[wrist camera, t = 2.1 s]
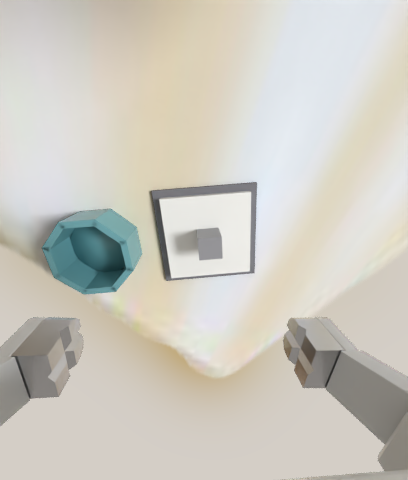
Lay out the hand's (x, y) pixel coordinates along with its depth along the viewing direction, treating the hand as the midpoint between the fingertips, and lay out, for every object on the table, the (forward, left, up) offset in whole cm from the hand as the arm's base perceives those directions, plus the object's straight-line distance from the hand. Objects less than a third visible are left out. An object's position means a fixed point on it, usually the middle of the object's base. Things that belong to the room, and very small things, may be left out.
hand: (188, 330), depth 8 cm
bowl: (+13, +5, -22) cm, 26 cm away
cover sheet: (-2, +5, -22) cm, 22 cm away
